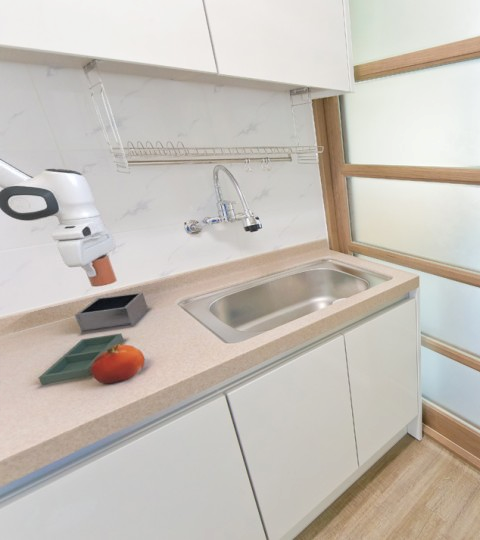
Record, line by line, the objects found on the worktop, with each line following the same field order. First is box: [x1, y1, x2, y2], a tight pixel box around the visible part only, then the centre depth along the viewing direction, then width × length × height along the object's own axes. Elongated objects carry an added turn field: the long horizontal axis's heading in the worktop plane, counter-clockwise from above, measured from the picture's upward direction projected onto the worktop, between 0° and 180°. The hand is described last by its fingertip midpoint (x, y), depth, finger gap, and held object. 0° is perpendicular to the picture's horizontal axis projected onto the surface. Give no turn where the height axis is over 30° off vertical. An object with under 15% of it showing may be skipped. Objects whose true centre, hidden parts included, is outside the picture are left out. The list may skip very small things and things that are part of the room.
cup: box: [85, 255, 118, 288], centre depth 100 cm, size 6×6×8 cm
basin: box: [74, 292, 149, 335], centre depth 104 cm, size 13×13×7 cm
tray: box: [38, 333, 124, 386], centre depth 84 cm, size 9×17×3 cm, turn 18°
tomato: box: [91, 343, 146, 384], centre depth 77 cm, size 9×9×8 cm
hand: (100, 271), depth 100 cm, fingers closed on cup, 6 cm apart
